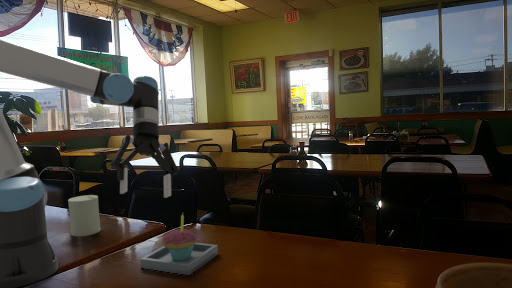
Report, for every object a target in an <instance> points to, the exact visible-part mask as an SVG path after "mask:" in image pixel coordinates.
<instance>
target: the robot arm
mask: <svg viewBox="0 0 512 288" xmlns="http://www.w3.org/2000/svg"><path fill="white" fill-rule="evenodd" d="M0 72H1V73H4V74H7V75H11V76H15V77H19V78H22V79H25V80H29V81H33V82H37V83H41V84H44V85H48V86H52V87H55V88H58V89H63V90H66V91H68V92H74V93H77V94H82V95H85V96H88V97H89V100H90V102H91V103H93V104H97V105H98V104H99V105H100V106H101V105H102V106H104V105H106V106H115V107H126V108H132V125H133V126H132V137H131V135H129V134H127V135H124V137H122V141H121V145H120V147H119V148H118V150H117V151H116V153H115V156H114V157H113V159H112V160H111V162H110V163H109V165H110V167H112V168H114V169H115V170H116V171H117V172H116V175H117V177H116V179H117V181H118V182H119V194H120V195H123V194H125V193H127V192H128V174H129V173H128V172H129V171H128V167H126V166H127V165H128V164H129V163H130V162H131V161H132V159H134V158H135V157H136V155H137V154H139V155H140V156H146V157H150V158H152V159H154V161H155V162H156V163H157V165H158V166H159V168H160V169H161V170H162V172H163V173H164V176H163V198H165V199H166V198H168V197H171V196H172V186H173V185H174V179H173V178H174V177H173V176H174V175H176V174H178V173H179V169H178V167H177V164H176V161H175V160H174V157H173V156H172V154H171V151H170V146H169V143H168V142H165V143H160V126H159V125H160V115H159V114H160V112H159V110H160V109H159V96H160V95H159V94H160V93H159V86H158V81H157V80H156V79H155V78H154V77H151V76H148V75H144V76H142V75H139V76H137V77H135V78H134V79H133V81H132V80H131V78H130V77H128V75H126V74H123V73H119V72H118V73H117V72H116V73H113V72H110V71H107V70H105V69H103V70H102V69H100V68H99V67H98V68H97V67H94V66H91V65H87V64H84V63H81V62H78V61H75V60H71V59H69V58H65V57H62V56H58V55H55V54H52V53H49V52H46V51H43V50H39V49H36V48H34V47H30V46H27V45H23V44H20V43H17V42H13V41H10V40H7V39H3V38H1V37H0ZM131 144H132V146H133V147H134V148H133V149H132V151H130V152H129V154H128V155H127V156H126V157H125V158H124V159H123V160H122V158H123V156H124V154H125V152H126V151H127V149H128V147H129V145H131ZM48 199H49V192H48V189H47V186H46V184H45V183H44V182H43V181H42V180H41V179H40V176H39V174H38V171H37V170H36V168H35V165H34V164H31V163H28V162H27V161H25V159H24V157H23V154H22V152H21V150H20V148H19V145H18V144H17V142H16V139H15V137H14V135H13V132H12V131H11V129H10V127H9V125H8V121H7V120H6V118H5V115H4V113H3V111H2V109H1V108H0V288H19V287H25V286H28V285H31V284H34V283H37V282H40V281H42V280H45V279H46V278H48V277H51V276H52V275H53V274H56V272H57V271H58V269H59V265H58V264H59V262H58V258H57V255H56V253H55V252H54V249H53V248H52V246H51V244H50V242H49V238H48V231H47V229H48V228H47V220H46V206H47V202H48Z"/></svg>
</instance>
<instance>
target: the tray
mask: <svg viewBox="0 0 512 288" xmlns="http://www.w3.org/2000/svg"><path fill="white" fill-rule="evenodd" d="M217 255H219V247H218V244H211V243H201V242H196V243H195V244H194V247H193V249H192V253H191V257H190V258H188V259H186V260H173V259H172V256H171V254H170V252H169V249H168V248H166V247H165V246H164V245H162V246H161V247H159V248H157V249H155V250H154V251H152V252H150V253H148V254H146V255H145V256H143V257H141V258H140V259H139V260H140V269H141V268H146V269H153V270H159V271H165V272H164V273H166V272H170V273H169V274H172V273H178V274H177V275H179V274H185V275H190V274H191V275H192V274H194V273H195V272H196V271H198V270H199V269H200V268H202V267H203V266H205V265H206V264H207V263H208V262H210V261H212V260H213V259H214V258H215V257H216V256H217ZM146 269H145V270H146ZM197 269H198V270H197ZM153 270H152V271H153ZM159 271H158V272H159ZM194 271H195V272H194ZM193 272H194V273H193ZM185 275H184V276H185ZM191 275H190V276H191Z"/></svg>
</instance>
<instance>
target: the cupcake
mask: <svg viewBox="0 0 512 288" xmlns="http://www.w3.org/2000/svg"><path fill="white" fill-rule="evenodd" d="M184 219H185V216H184V212H182V213H181V215H180V228H178V229H174V230H173V229H172V230H170V232H168V233H166V235H165V236H164V237H163V238H162V244H163V245H162V246H165V247H166V248H168V249H169V252H170V254H171V256H172V259H173V260H186V259H188V258H190V257H191V253H192V249H193V247H194V244H195V243H198V242H197V241H198V240H197V236H196V233H194V231H192V230H189V229H185V228H184V223H185V221H184Z"/></svg>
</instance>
